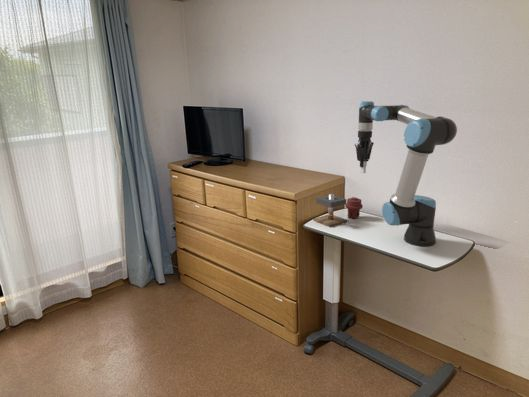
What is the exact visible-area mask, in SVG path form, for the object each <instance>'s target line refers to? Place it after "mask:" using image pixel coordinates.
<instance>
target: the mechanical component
mask: <svg viewBox="0 0 529 397" xmlns="http://www.w3.org/2000/svg"><path fill="white" fill-rule="evenodd" d="M344 206H345V208H346V209H347V219H353V220H358V217H360V212H361V211H360V210H362V209H363V204H362V199H360V198H358V197H355V196H352V197H351V198H350V197H349V198H346V204H345V205H344Z"/></svg>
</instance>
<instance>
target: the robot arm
mask: <svg viewBox="0 0 529 397" xmlns="http://www.w3.org/2000/svg"><path fill="white" fill-rule="evenodd" d="M373 121H375V122H385V121H398V122H400V123H403V124H405V125H406V126H405V128H404V132H403V137H404V139H403V140H404V142H405V144H406V145H405V146H406V148H407V150H408V151H407V154H406V158H405V161H404V164H403V167H402V171H401V173H400V176H399V181H398V184H397V188H396V190H395V192H394V193H393V194H392V195H391V196H390V197H389V198H390V199H389V201H386V202H384V203H383V204H382V208H381V212H382V216H383V219H384V221H385V222H386V224H388V225H389V226H396V227H397V226H402V225H408V226H407V228H406V231H405V232H404V235H403V236H404V237H403V241H405V243H407V244H410V245H412V246H418V247H432V246H434V245H436V242H437V237H436V233H435V230H434V225H435V216H436V210H437V209H436V208H437V202H436V200H435V199H434V198H432V197H430V196H429V197H428V196H425V195H420V194H419V195H417V194H416V193H417V190H418V187H419V183H420V180H421V178H422V175H423V172H424V169H425V166H426V163H427V159H428V157H429V156H430V155H431V154H433V153H434V151H435V148H436V146H442V145H447V144H449V143H451V142H452V141H453V140H454V139H455V138H456V136H457V132H458V126H457V125H456V123H455V121H454V120H452V119H451V118H448V117H444V116H434V115H431V114H427V113H424V112H421V111H418V110H415V109H411V108H410V107H409V106H408V105H404V104H399V105H397V104H396V105H375V103H374V101H373V100H372V101H369V100H366V101H364V100H363V101H360V102H359V108H358V127H357V129H358V130H357V138H358V141H357V143H355V144H354V146H355V151H356V159H357V160H356V161H359V173H361V174H366V172H367V170H366V169H367V162H369V160H370V159H371V155H372V149H373V146H374V145H375V144H374V142H372V139H371V138H372V136H373V131H372V130H373V128H374V127H373V124H374V122H373Z"/></svg>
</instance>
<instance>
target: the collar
mask: <svg viewBox="0 0 529 397" xmlns="http://www.w3.org/2000/svg"><path fill="white" fill-rule="evenodd" d="M315 203H316V204H318V205H321V206H325V207H330V208H332V207H334V208H336V207H340V206H345V205H346V204H347V198H343V197H341V196H340V197H339V196H337V195H334V200H329V195H325V196H324V195H323V196H319V197H316V200H315Z"/></svg>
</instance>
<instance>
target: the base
mask: <svg viewBox="0 0 529 397" xmlns="http://www.w3.org/2000/svg"><path fill="white" fill-rule="evenodd" d="M313 222H315V223H318V224H321V225H323V226H326V227H329V228H333V227H336V226H341V225H344V224H347V223H348V222H349V220H348V219H347V218H343V217H341V216H337V215H333V220H328V214H326V215H322V216H318V217H314V218H313Z"/></svg>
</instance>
